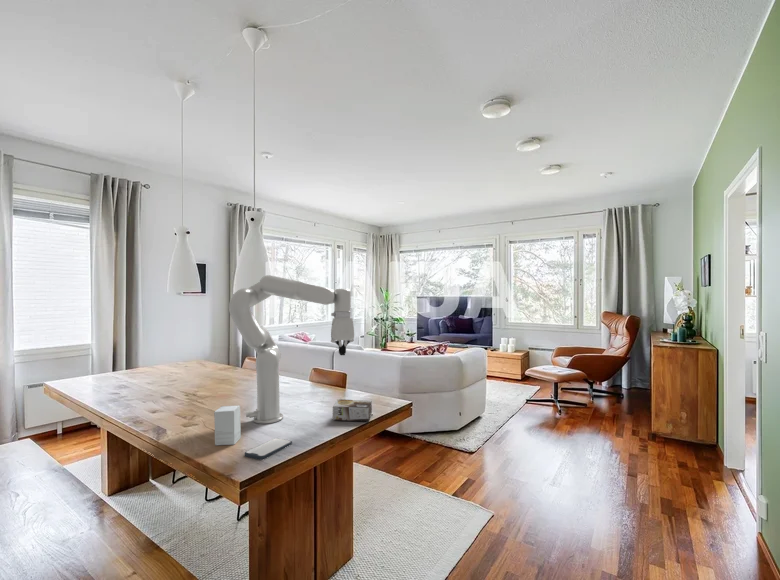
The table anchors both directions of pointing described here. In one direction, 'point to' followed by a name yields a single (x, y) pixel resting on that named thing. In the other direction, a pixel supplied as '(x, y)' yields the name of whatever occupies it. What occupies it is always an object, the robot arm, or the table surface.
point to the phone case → (268, 448)
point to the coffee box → (352, 410)
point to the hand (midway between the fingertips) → (342, 354)
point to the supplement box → (227, 425)
